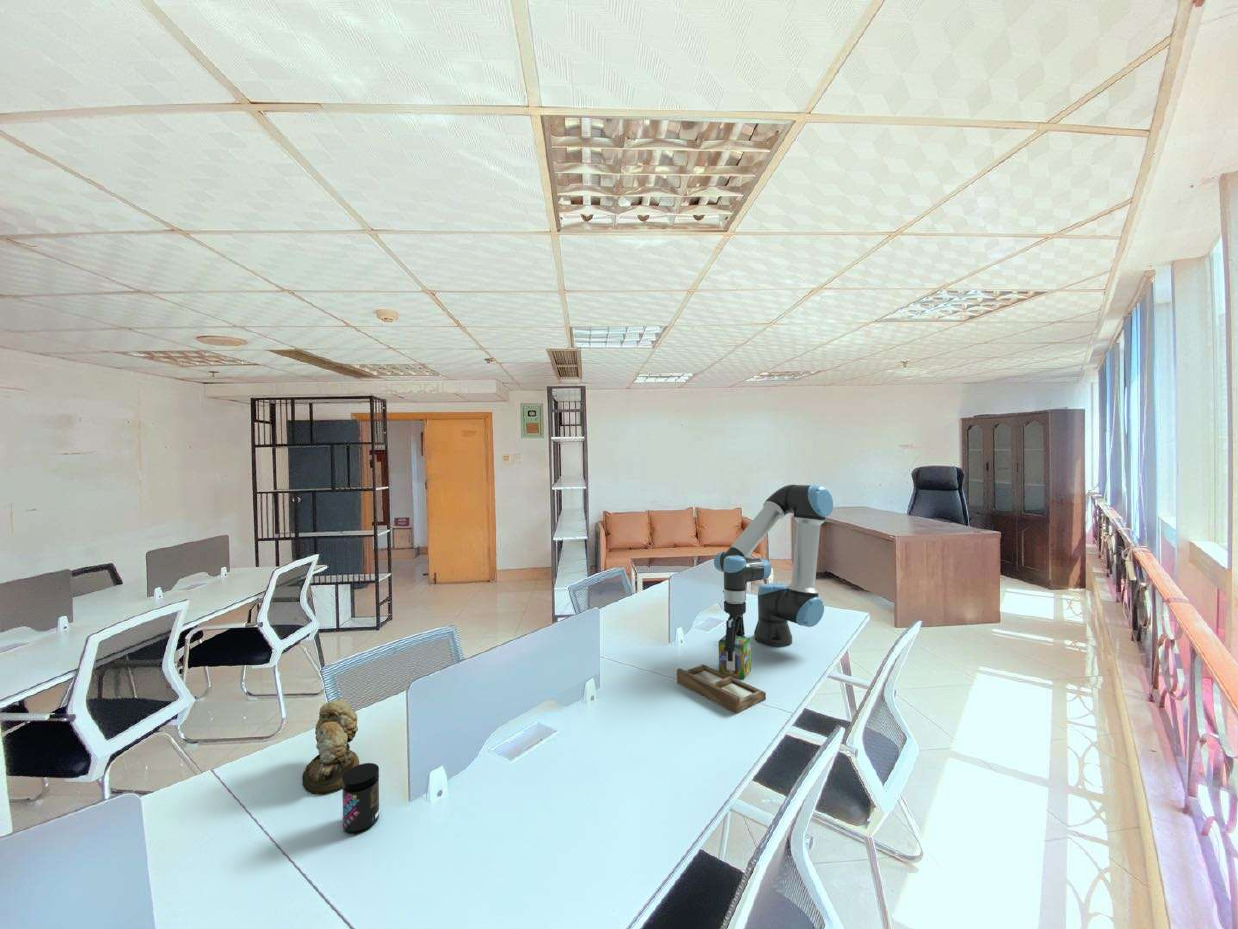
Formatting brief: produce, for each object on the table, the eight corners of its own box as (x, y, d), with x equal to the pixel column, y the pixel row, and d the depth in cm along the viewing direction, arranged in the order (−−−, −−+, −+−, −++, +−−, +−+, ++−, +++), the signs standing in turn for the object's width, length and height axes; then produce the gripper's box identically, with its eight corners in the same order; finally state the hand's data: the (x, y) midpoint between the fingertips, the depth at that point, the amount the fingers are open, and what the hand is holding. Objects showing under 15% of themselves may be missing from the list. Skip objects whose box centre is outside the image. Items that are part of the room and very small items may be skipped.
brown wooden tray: (705, 671, 169) (705, 658, 169) (765, 699, 149) (765, 685, 149) (676, 682, 160) (676, 669, 160) (736, 714, 140) (736, 698, 140)
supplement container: (347, 815, 101) (346, 766, 101) (382, 808, 103) (381, 760, 103) (338, 839, 95) (337, 787, 94) (376, 831, 97) (375, 780, 96)
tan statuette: (300, 762, 119) (300, 694, 119) (354, 746, 126) (353, 681, 126) (303, 804, 105) (303, 725, 105) (364, 783, 111) (364, 709, 112)
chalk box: (743, 680, 162) (743, 636, 162) (718, 674, 167) (717, 631, 167) (752, 670, 170) (751, 628, 170) (727, 664, 175) (726, 624, 174)
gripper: (732, 591, 180) (733, 649, 180) (714, 608, 160) (715, 674, 160) (753, 594, 176) (753, 653, 177) (737, 611, 156) (737, 679, 156)
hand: (735, 663), depth 168 cm, fingers open, 11 cm apart
